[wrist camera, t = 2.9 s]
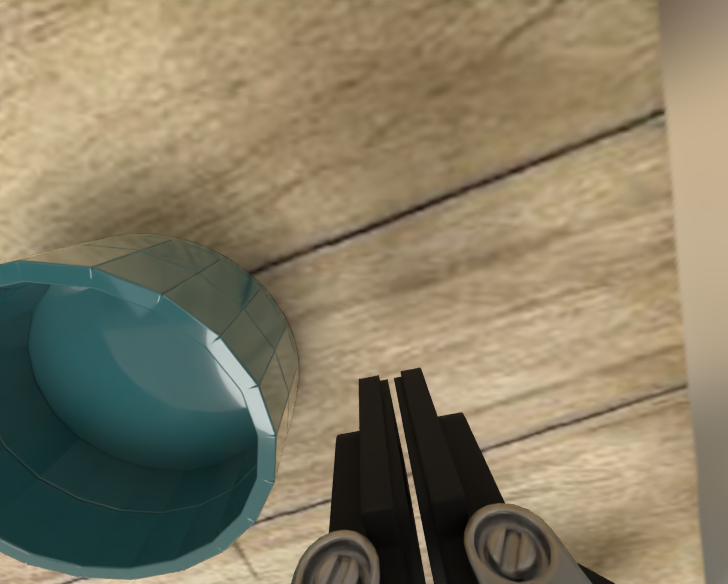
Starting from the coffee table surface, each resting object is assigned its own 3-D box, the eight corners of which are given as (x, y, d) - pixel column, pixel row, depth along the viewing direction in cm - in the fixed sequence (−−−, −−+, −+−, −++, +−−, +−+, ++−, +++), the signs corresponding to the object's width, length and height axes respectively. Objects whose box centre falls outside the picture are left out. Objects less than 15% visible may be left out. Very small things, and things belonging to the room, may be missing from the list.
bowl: (1, 218, 13) (-193, 240, 9) (306, 248, 14) (282, 284, 9) (51, 461, 17) (-68, 572, 12) (293, 476, 18) (270, 586, 13)
